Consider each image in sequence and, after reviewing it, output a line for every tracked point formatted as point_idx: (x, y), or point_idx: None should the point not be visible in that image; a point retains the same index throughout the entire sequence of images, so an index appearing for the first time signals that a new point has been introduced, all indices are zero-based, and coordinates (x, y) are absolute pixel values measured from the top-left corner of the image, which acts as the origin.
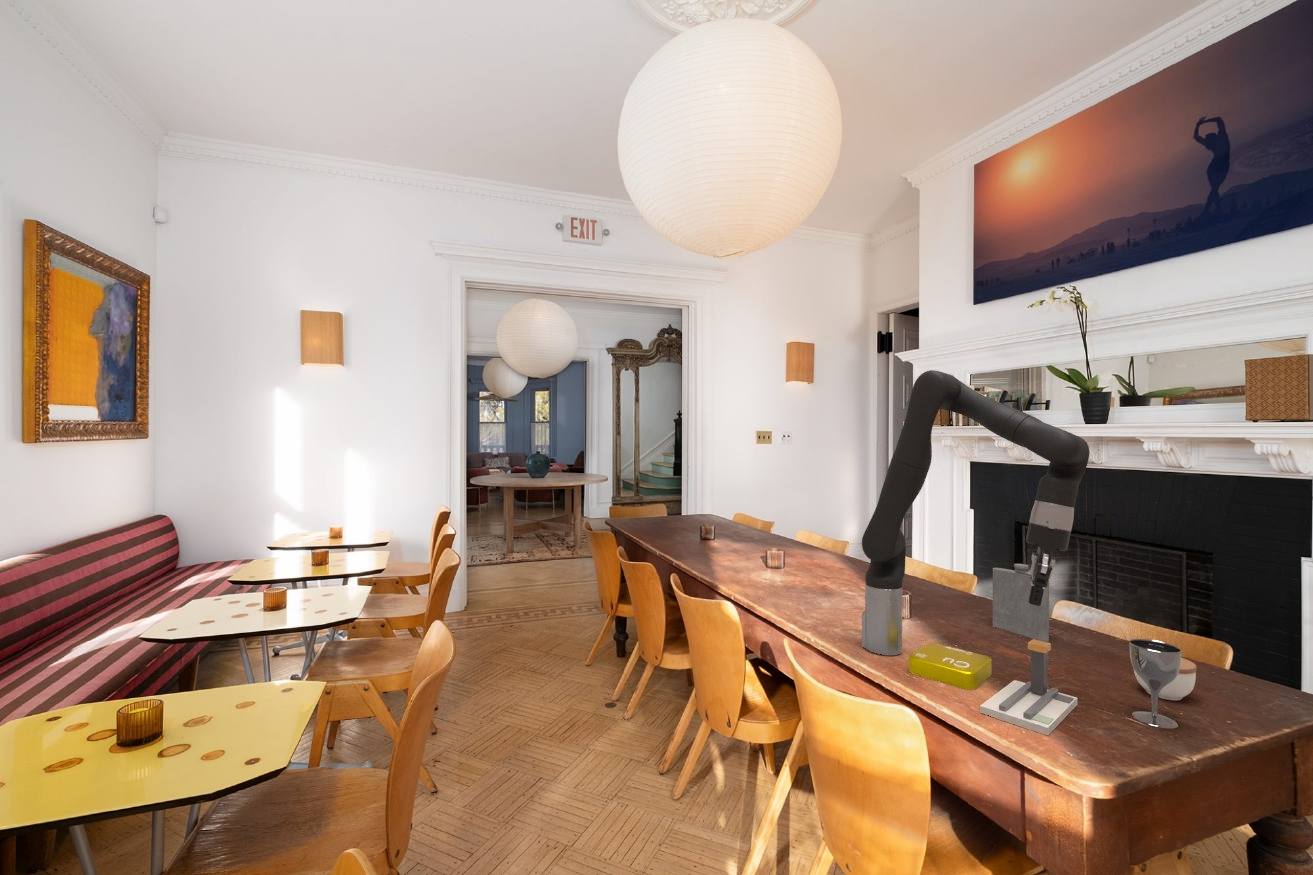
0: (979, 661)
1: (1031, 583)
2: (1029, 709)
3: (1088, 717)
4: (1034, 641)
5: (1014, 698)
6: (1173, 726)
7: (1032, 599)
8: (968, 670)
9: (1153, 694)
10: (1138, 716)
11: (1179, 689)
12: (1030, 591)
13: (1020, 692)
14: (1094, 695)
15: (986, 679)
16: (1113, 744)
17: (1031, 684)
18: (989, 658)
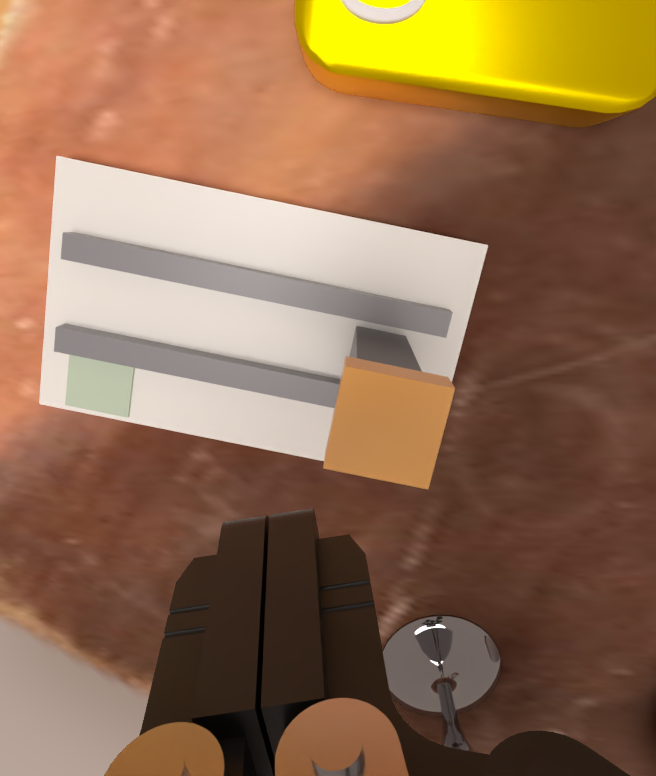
0: (528, 58)
1: (137, 774)
2: (107, 343)
3: (319, 501)
4: (406, 400)
5: (184, 280)
6: (410, 706)
7: (177, 591)
8: (328, 31)
9: (443, 737)
10: (424, 633)
11: None
12: (245, 625)
13: (275, 294)
14: (569, 519)
15: (499, 116)
16: (140, 561)
17: (355, 334)
18: (620, 101)
